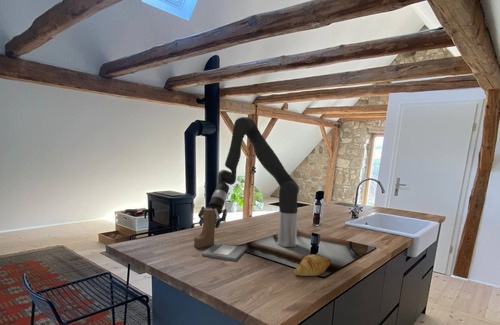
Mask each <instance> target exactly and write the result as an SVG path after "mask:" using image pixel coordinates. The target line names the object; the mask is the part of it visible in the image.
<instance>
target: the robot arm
mask: <svg viewBox="0 0 500 325" xmlns="http://www.w3.org/2000/svg"><path fill="white" fill-rule="evenodd" d="M245 136H246V137H247V138H248V140H249V141H250V142H251V144H252V146H253V152H254V154H255V157H256V159H258V162H259V163H260V164H261V166H262V167H263V169H265V170H266V171H267V172H268V173H269V174H270V175H271V176H272V177H273V178H274V180H276V183H277V184H278V185H279V194H278V207H279V211H278V228H277V229H278V230H277V231H278V232H277V236H278V237H277V245H278V246H280V247H284V248H295V247H296V245H297V235H298V231H297V230H298V226H297V225H298V224H297V223H298V222H297V221H298V194H299V192H300V187H299V185H298V183H297V182H296V181H295V179H293V177H291V175H290V174H289V173H288V172H287V170H286V168H285V167H284V165H283V163H282V162H281V160H280V159H279V157H278V156H277V154H276V153H275V152H274V150H273V149H272V147H271V146H270V145H269V143H268V142H267V140H266V139H265V138H264V136H263V135H262V133H261V131H260V130H259V128H258V126H257V124H256V122H255V121H254V120H253V119H252V118H250V117H247V116H241V117H238V118H236V119H235V122H234V124H233V129H232V136H231V141H230V146H229V150H228V153H227V157H226V160H225V163H224V166H225V167H226V168H227V169H228V170H227V169H226V170H225V169H221V170H219V172H218V174H217V185H216V186H215V187H216V188H215V190H214V192H213V193H212V196H211V199H210V201H209V203H208V206H207V207H204V206H201V209H200V211H199V213H198V215H197V216H198V218H199V219H200V220H199V221H198V224H199V226H200V227H203V214H204V209H209V208H212V209H214V210H215V218H217V220H216V221H215V229H218V228H219V227H220V225H221V222H225V221H226V219H227V215H228V212H227V208H224V206H225V203H226V201H227V196H228V193H229V190H230V186H231V185H234V184H235V183H236V181H237V168H238V165H239V163H240V159H241V153H242V143H243V139H244V137H245ZM229 170H230V171H229ZM229 185H230V186H229ZM223 208H224V209H223ZM221 214H222V216H221V217H220V215H221Z"/></svg>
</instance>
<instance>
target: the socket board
mask: <svg viewBox="0 0 500 325" xmlns="http://www.w3.org/2000/svg"><path fill="white" fill-rule="evenodd" d="M246 249H247V246H241V245H233V244H228V243H221V242H214V245H212V246H209V247H208V248H207V249H205V250H204V251H203V252H202V253H201V256H202V257H207V258H213V259H219V260H226V261H231V262H237V260H238V259H240V257H241V256H242V255H243V254H244V253H245V252H246V251H247V250H246ZM245 250H246V251H245Z"/></svg>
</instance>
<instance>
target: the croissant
mask: <svg viewBox="0 0 500 325" xmlns="http://www.w3.org/2000/svg"><path fill="white" fill-rule="evenodd" d="M330 263H331V259H330V258H326V257H322V255H318V254H313V253H311V254H307V255H305V256H304V257H303V259H302V260H301V261H300V263H299V264H298V265H296V268H295V269H294V270H293V274H294V275H296V276H300V277H314V276H319V275H322V274H324V273H325V271H326V270H327V269H328V268H329V266H330V265H331V264H330Z"/></svg>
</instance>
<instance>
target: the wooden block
mask: <svg viewBox="0 0 500 325" xmlns="http://www.w3.org/2000/svg"><path fill="white" fill-rule="evenodd" d="M215 224H216V217H215V210H214V209H212V208H209V209H204V214H203V225H202V230H201V232H200V234H199V235H197V236H194V240H193V241H194V242H193V245H194V247H196V248H197V249H202V248H207V247H211V246H212V245H214V244H215V230H216V227H215Z"/></svg>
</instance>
